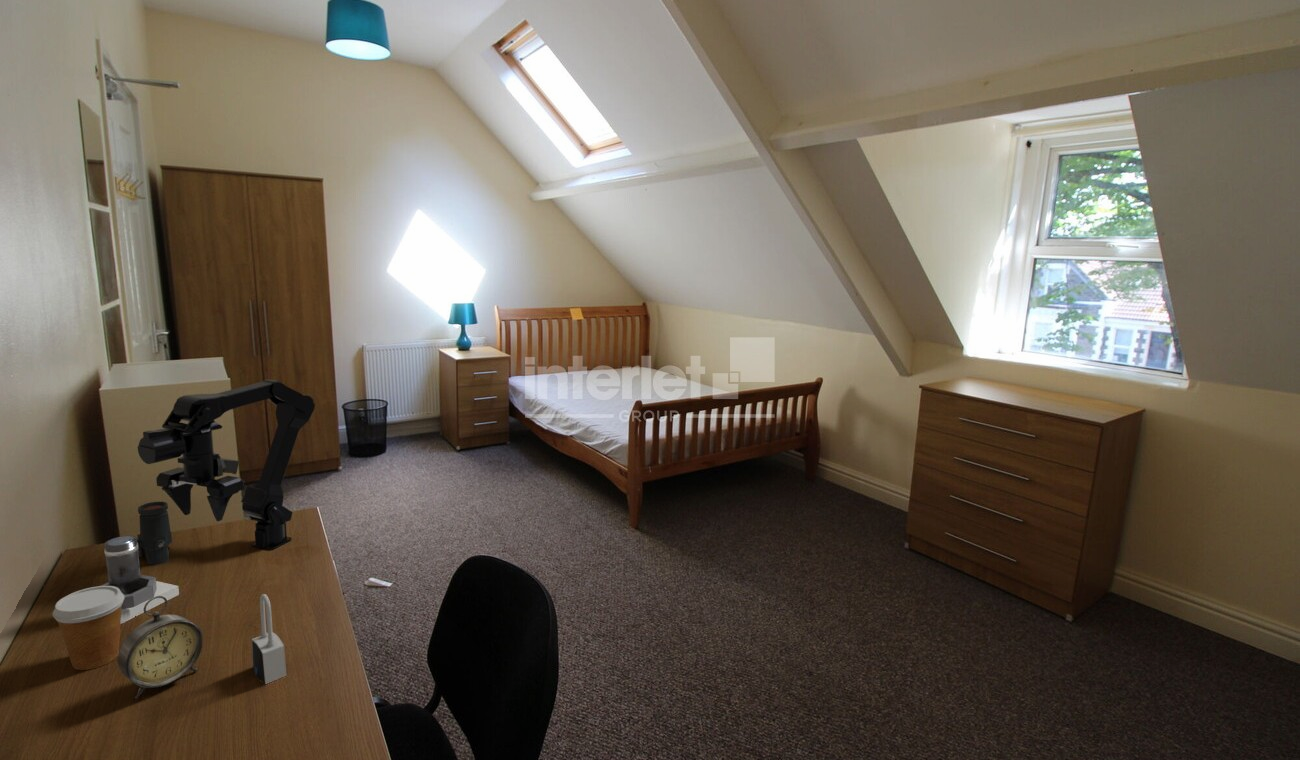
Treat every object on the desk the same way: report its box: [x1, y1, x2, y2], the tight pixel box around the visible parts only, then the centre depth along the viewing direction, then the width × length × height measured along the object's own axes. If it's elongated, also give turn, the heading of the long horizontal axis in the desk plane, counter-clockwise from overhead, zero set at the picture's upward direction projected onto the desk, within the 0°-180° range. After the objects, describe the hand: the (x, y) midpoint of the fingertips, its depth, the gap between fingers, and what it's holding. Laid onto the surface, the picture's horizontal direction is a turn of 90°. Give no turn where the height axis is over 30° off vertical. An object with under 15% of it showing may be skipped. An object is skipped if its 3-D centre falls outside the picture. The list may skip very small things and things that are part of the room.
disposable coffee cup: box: [52, 585, 125, 671], centre depth 111 cm, size 10×10×12 cm
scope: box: [136, 501, 174, 566], centre depth 147 cm, size 8×14×10 cm
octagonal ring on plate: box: [100, 574, 180, 625], centre depth 128 cm, size 14×10×4 cm
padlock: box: [251, 593, 287, 685], centre depth 110 cm, size 7×4×15 cm, turn 49°
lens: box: [104, 535, 142, 595], centre depth 127 cm, size 5×5×13 cm
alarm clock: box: [117, 596, 204, 700], centre depth 106 cm, size 11×5×16 cm, turn 148°
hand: (203, 517), depth 142 cm, fingers open, 9 cm apart
